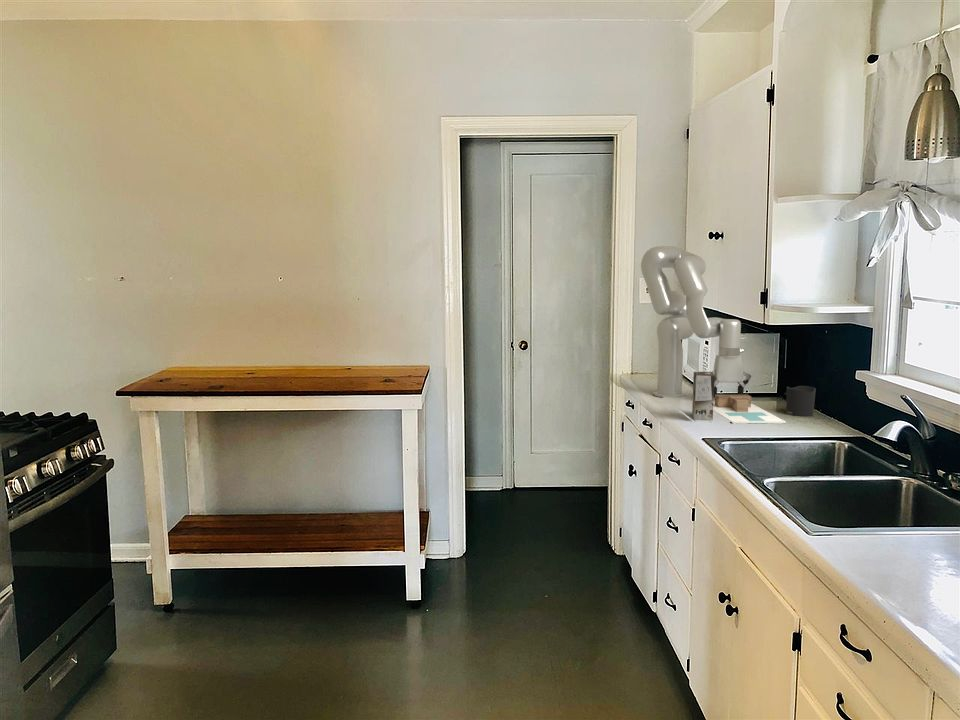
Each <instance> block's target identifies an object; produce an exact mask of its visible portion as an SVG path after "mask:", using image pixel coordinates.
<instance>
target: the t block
mask: <svg viewBox="0 0 960 720" xmlns="http://www.w3.org/2000/svg"><path fill="white" fill-rule="evenodd" d="M714 402H715V406H717V407H729V408H731V409H733V410H734V411H736V412H748V407H751V403H752V396H751V395H749V394H743V395H738V394H717V395H715V398H714Z"/></svg>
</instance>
